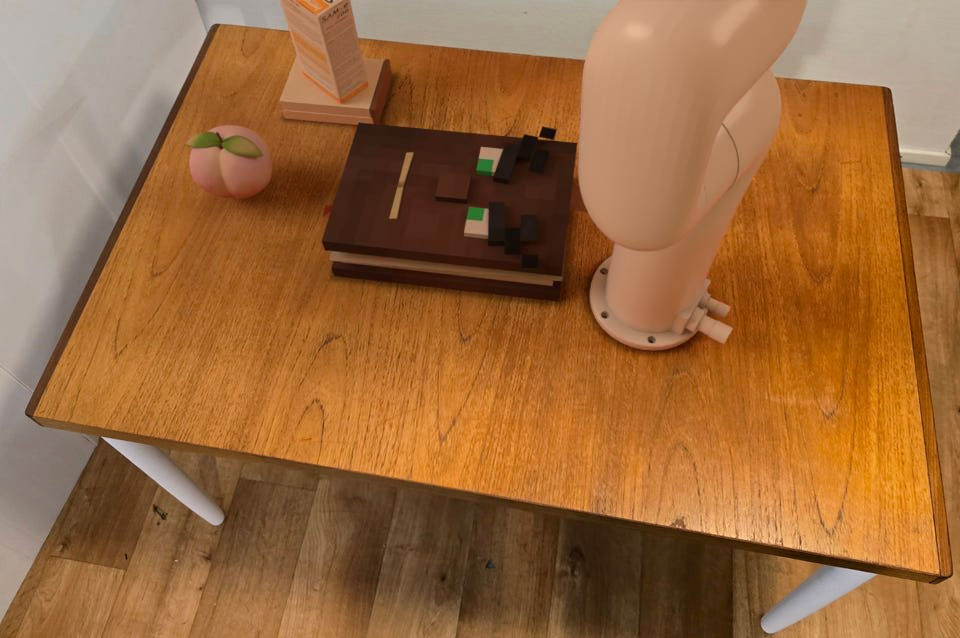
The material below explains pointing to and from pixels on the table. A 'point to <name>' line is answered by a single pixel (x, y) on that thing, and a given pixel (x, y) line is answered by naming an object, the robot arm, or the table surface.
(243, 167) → the decorative fruit
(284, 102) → the thin cream books
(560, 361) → the table surface
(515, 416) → the table surface
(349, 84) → the supplement box
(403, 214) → the decorative book
